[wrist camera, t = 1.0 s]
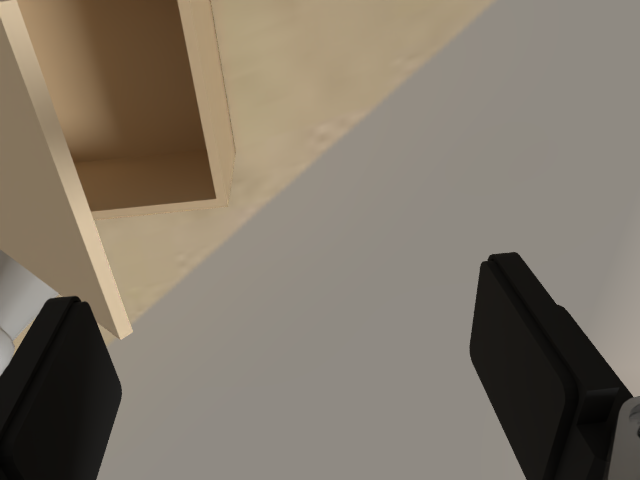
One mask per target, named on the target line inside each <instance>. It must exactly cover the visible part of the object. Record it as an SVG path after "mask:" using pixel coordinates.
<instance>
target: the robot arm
mask: <svg viewBox="0 0 640 480" xmlns="http://www.w3.org/2000/svg"><path fill="white" fill-rule="evenodd" d="M470 357H471V360H472V363H473V365H474V367H475V369H476V371H477V374H478V376H479V378H480V380H481V382H482V384H483V387H484V389H485V391H486V393H487V395H488V397H489V400H490V402H491V404H492V406H493V408H494V410H495V413H496V415H497V417H498V419H499V421H500V423H501V425H502V428H503V430H504V432H505V434H506V436H507V438H508V440H509V443H510V445H511V447H512V449H513V451H514V454H515V456H516V458H517V460H518V462H519V464H520V467H521V469H522V471H523V473H524V475H525V477H526V479H527V480H640V396H638V397H633V396H632V394H631V393H630V392H629V391H628V389H627V388H626V387H625V385H624V384H623V383H622V381H621V380H620V379H619V377H618V376H617V375H616V374H615V372H614V371H613V370H612V368H611V367H610V366H609V365H608V363H607V362H606V361H605V359H604V358H603V357H602V355H601V354H600V353H599V352H598V350H597V349H596V348H595V346H594V345H593V344H592V343H591V341H590V340H589V339H588V337H587V336H586V335H585V334H584V332H583V331H582V330H581V328H580V327H579V326H578V325H577V323H576V322H575V320H574V319H573V318H572V317H571V315H570V314H569V313H568V311H567V310H565V308H564V307H562V306H560V305H557V304H556V303H555V302H554V300H553V299H552V298H551V296H550V295H549V294H548V292H547V291H546V290H545V288H544V287H543V286H542V284H541V283H540V282H539V280H538V279H537V278H536V276H535V275H534V274H533V273H532V271H531V270H530V268H529V267H528V266H527V265H526V263H525V262H524V261H523V260H522V258H521V257H520V255H519V254H518V253H516V252H511V253H501V254H492V255H490V256H489V258H488V261H484V262H482V263H481V266H480V273H479V281H478V288H477V295H476V303H475V310H474V317H473V325H472V333H471V340H470ZM121 396H122V389H121V384H120V381H119V378H118V376H117V374H116V371H115V368H114V366H113V363H112V361H111V358H110V355H109V353H108V350H107V348H106V345H105V343H104V340H103V338H102V335H101V333H100V330H99V327H98V325H97V322H96V320H95V317H94V315H93V312H92V310H91V307H90V305H89V303H88V302H86V301H84V302H82V301H81V300H80V298H79V297H78V296H68V297H58V298H50V299H48V300H47V301H46V302H45V304H44V305H43V307H42V309H41V310H40V312H39V314H38V315H37V317H36V319H35V321H34V322H33V324H32V326H31V327H30V329H29V331H28V332H27V334H26V336H25V337H24V339H23V341H22V343H21V344H20V346H19V348H18V349H17V351H16V353H15V354H14V356H13V358H12V359H11V361H10V363H9V365H8V366H7V367H6V368H5V370H4V371H3V373H2V375H1V376H0V480H96V479H97V475H98V472H99V468H100V466H101V463H102V459H103V456H104V453H105V450H106V446H107V443H108V440H109V437H110V433H111V430H112V427H113V424H114V421H115V417H116V414H117V411H118V408H119V405H120V401H121Z"/></svg>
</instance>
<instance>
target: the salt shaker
mask: <svg viewBox="0 0 640 480" xmlns="http://www.w3.org/2000/svg"><path fill="white" fill-rule="evenodd" d="M58 294H59V293H58V292H56V291H55V290H54V289H52V288H51V287H50V286H48V285H47V284H46V283H44V282H43V281H42V280H40V279H39V278H38V277H36V276H35V275H34V274H32V273H31V272H30V271H28V270H27V269H26V268H24V267H23V266H22V265H20V264H19V263H18V262H16V261H15V260H14V259H12V258H11V257H10V256H8V255H7V254H6V253H4V252H3V251H2V250H0V375H1V374H2V373H3V371H4V370H5V368H6V367H7V366H8V365H9V363H10V361H11V359H12V356H13V353H14V348H15V346H14V344H13V340H14V339H15V338H16V337H17V336H18V335H19V334H20V333H21V332H22V331H23V330H24V329H25V328H26V326H27V325H28V324H29V323H30V322H31V321H32V320H33V319H34V318H35V317H36V316H37V315H38V314H39V312H40V310H41V309H42V307H43V305H44V304H45V302H46V301H47V300H48V299H50V298H55V297H56V296H57V295H58Z"/></svg>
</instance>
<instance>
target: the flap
mask: <svg viewBox="0 0 640 480" xmlns="http://www.w3.org/2000/svg"><path fill="white" fill-rule="evenodd" d="M0 250H2V251H3V252H4V253H6V254H7V255H8V256H10V257H11V258H12V259H14V260H15V261H16V262H18V263H19V264H20V265H22V266H23V267H24V268H26V269H27V270H28V271H30V272H31V273H32V274H34V275H35V276H36V277H38V278H39V279H40V280H42V281H43V282H44V283H46V284H47V285H48V286H50V287H51V288H52V289H54V290H55V291H56V292H58V293H59V294H60V295H62V296H63V297H68V296H78V297H79V298H80V300H81V301H82V302H84V301H86V302H88V303H89V305H90V307H91V310H92V312H93V315H94V317H95V320H96V322H97V323H99V324H100V325H101V326H103V327H104V328H105V329H107V330H108V331H109V332H111V333H112V334H113V335H115V336H116V337H117V338H119V339H120V340H121V339H123V338H124V337H126V336H127V335H129V334H130V333H132V332H133V331H132V328H131V325H130V322H129V320H128V317H127V314H126V311H125V308H124V305H123V302H122V300H121V297H120V294H119V291H118V288H117V285H116V282H115V280H114V277H113V274H112V271H111V268H110V265H109V263H108V260H107V257H106V254H105V251H104V248H103V245H102V243H101V240H100V237H99V234H98V231H97V228H96V225H95V223H94V220H93V217H92V214H91V211H90V208H89V205H88V203H87V200H86V197H85V194H84V191H83V188H82V186H81V183H80V180H79V177H78V174H77V171H76V168H75V166H74V163H73V160H72V157H71V154H70V151H69V148H68V146H67V143H66V140H65V137H64V134H63V131H62V129H61V126H60V123H59V120H58V117H57V114H56V111H55V109H54V106H53V103H52V100H51V97H50V94H49V91H48V89H47V86H46V83H45V80H44V77H43V74H42V71H41V69H40V66H39V63H38V60H37V57H36V54H35V52H34V49H33V46H32V43H31V40H30V37H29V34H28V32H27V29H26V26H25V23H24V20H23V17H22V14H21V12H20V9H19V6H18V3H17V0H0Z"/></svg>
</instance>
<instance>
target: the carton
mask: <svg viewBox="0 0 640 480" xmlns="http://www.w3.org/2000/svg"><path fill="white" fill-rule="evenodd" d="M17 3H18V6H19V9H20V12H21V14H22V17H23V20H24V23H25V26H26V29H27V32H28V34H29V37H30V40H31V43H32V46H33V49H34V52H35V54H36V57H37V60H38V63H39V66H40V69H41V71H42V74H43V77H44V80H45V83H46V86H47V89H48V91H49V94H50V97H51V100H52V103H53V106H54V109H55V111H56V114H57V117H58V120H59V123H60V126H61V129H62V131H63V134H64V137H65V140H66V143H67V146H68V148H69V151H70V154H71V157H72V160H73V163H74V166H75V168H76V171H77V174H78V177H79V180H80V183H81V186H82V188H83V191H84V194H85V197H86V200H87V203H88V205H89V208H90V211H91V214H92V217H93V220H102V219H112V218H122V217H132V216H141V215H151V214H161V213H171V212H181V211H190V210H200V209H210V208H220V207H228V203H229V196H230V189H231V181H232V174H233V167H234V160H235V146H234V139H233V133H232V127H231V121H230V115H229V109H228V103H227V97H226V91H225V85H224V79H223V73H222V67H221V61H220V55H219V49H218V43H217V37H216V31H215V25H214V19H213V13H212V7H211V1H210V0H17Z"/></svg>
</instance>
